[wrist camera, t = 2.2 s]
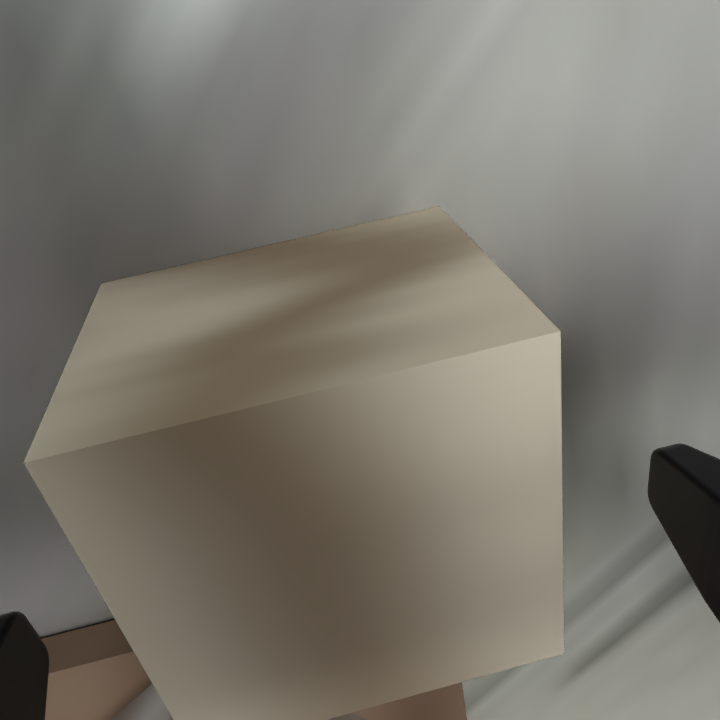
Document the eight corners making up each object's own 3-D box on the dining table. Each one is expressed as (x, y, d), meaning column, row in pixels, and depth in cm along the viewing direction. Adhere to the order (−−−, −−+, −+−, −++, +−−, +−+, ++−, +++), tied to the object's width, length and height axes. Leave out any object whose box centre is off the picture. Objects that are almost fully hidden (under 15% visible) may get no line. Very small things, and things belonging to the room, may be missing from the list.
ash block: (437, 203, 11) (560, 331, 7) (465, 459, 15) (564, 654, 10) (101, 280, 11) (22, 462, 7) (205, 525, 14) (195, 755, 10)
